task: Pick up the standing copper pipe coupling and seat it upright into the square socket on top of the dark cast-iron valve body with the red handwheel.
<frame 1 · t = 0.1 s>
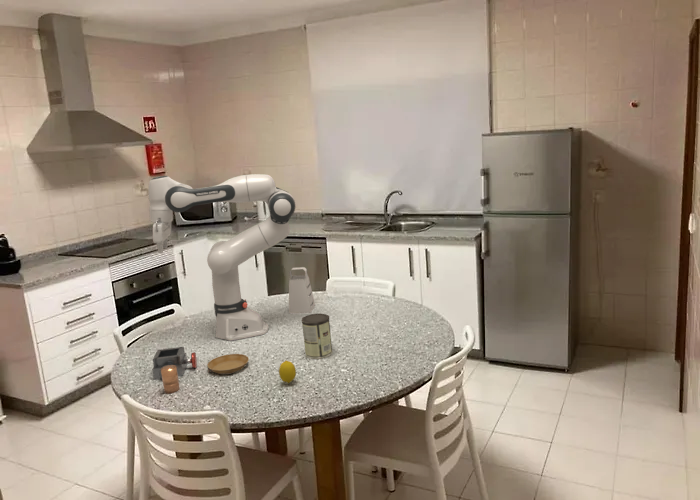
hand: (162, 250, 230), 39 cm above the table, tool pointing down, fingers open, 8 cm apart
coupling: (172, 390, 190), on the table
plant saucer: (229, 368, 205), on the table
grater: (302, 310, 265), on the table
valve body: (171, 370, 206), on the table
lemon: (288, 383, 188), on the table
coffee can: (318, 354, 211), on the table
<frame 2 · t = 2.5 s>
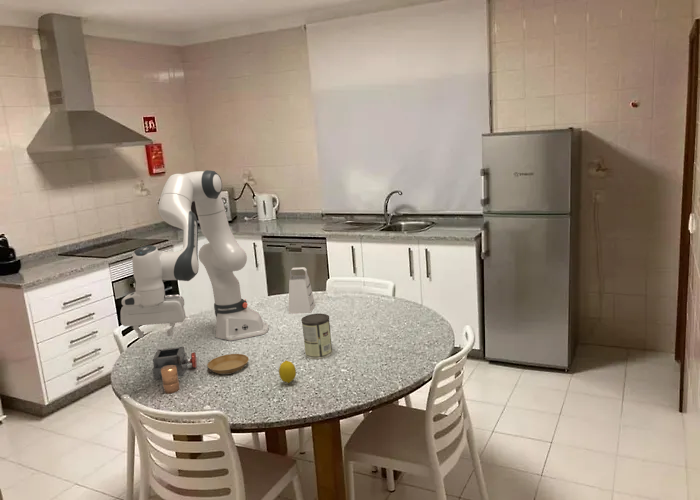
hand: (155, 336, 187), 19 cm above the table, tool pointing down, fingers open, 8 cm apart
nothing on the table moved.
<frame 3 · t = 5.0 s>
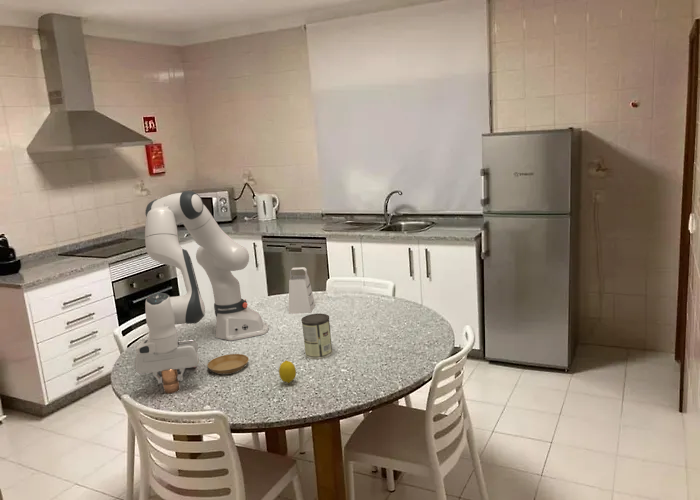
hand: (170, 381, 190), 3 cm above the table, tool pointing down, fingers closed on coupling, 5 cm apart
coupling: (172, 390, 190), on the table, touching gripper
everything else where it was.
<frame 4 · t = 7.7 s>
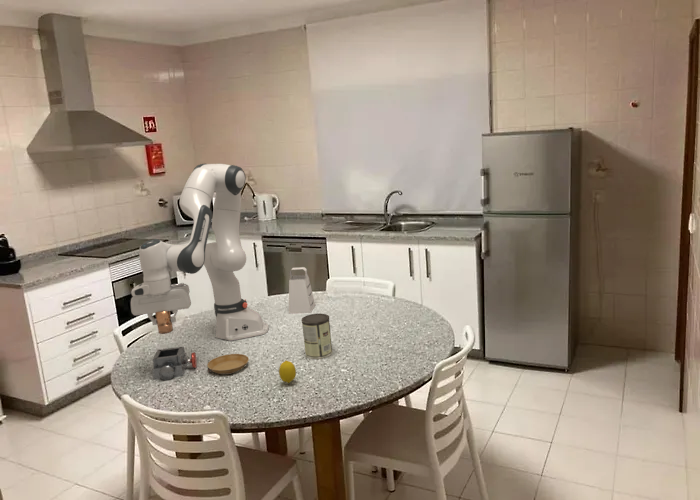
hand: (164, 323, 202), 18 cm above the table, tool pointing down, fingers closed on coupling, 5 cm apart
coupling: (165, 331, 203), point 15 cm above the table, touching gripper
everything else where it was.
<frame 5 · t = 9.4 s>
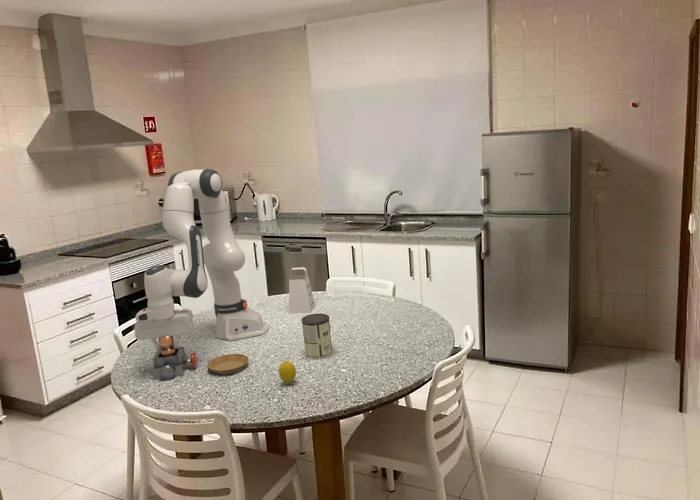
hand: (167, 347, 204), 9 cm above the table, tool pointing down, fingers closed on coupling, 5 cm apart
coupling: (168, 355, 205), point 6 cm above the table, touching gripper
everything else where it was.
when the fingers open (9 cm above the table, at t = 10.3 s): coupling drops 1 cm, resting on valve body.
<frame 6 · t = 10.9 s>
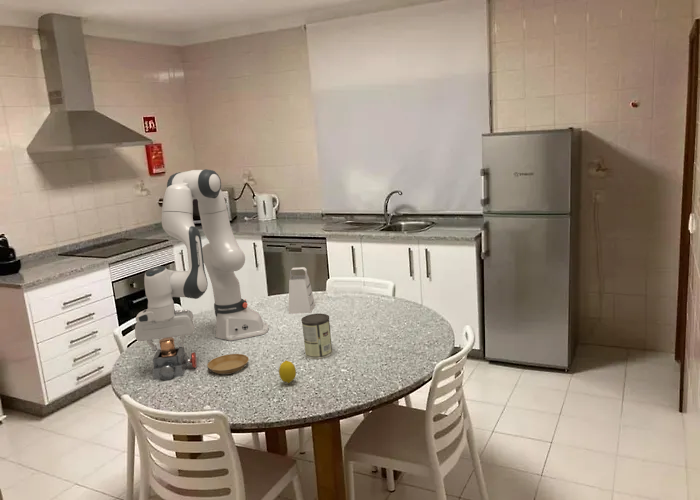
hand: (167, 348, 205), 9 cm above the table, tool pointing down, fingers open, 8 cm apart
coupling: (169, 360, 206), point 4 cm above the table, touching valve body
everything else where it was.
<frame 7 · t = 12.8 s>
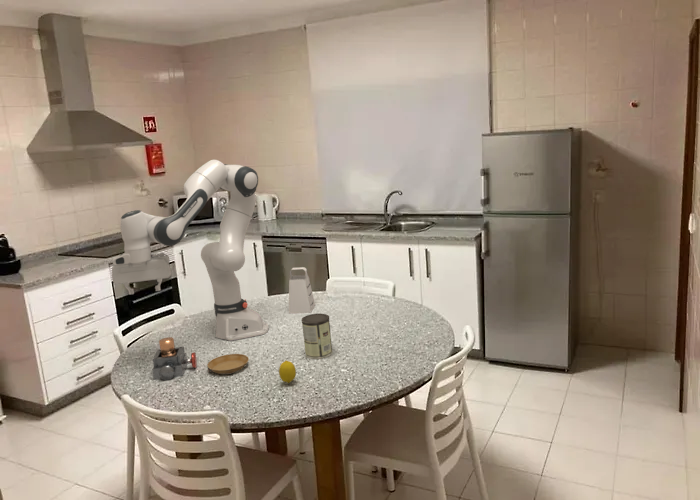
hand: (145, 292, 208), 28 cm above the table, tool pointing down, fingers open, 8 cm apart
nothing on the table moved.
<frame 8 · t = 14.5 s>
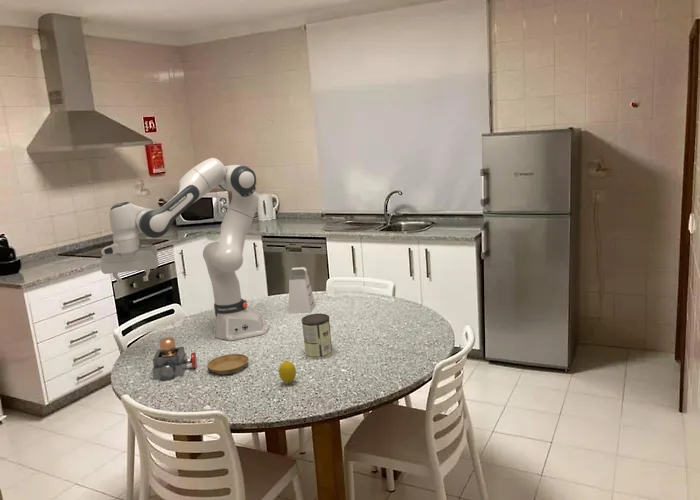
hand: (133, 282, 213), 31 cm above the table, tool pointing down, fingers open, 8 cm apart
nothing on the table moved.
at the end: coupling 0.0 cm off-centre on the valve body, point 4.0 cm above the valve body's base; coupling tilted 1°; the gripper is holding nothing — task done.
